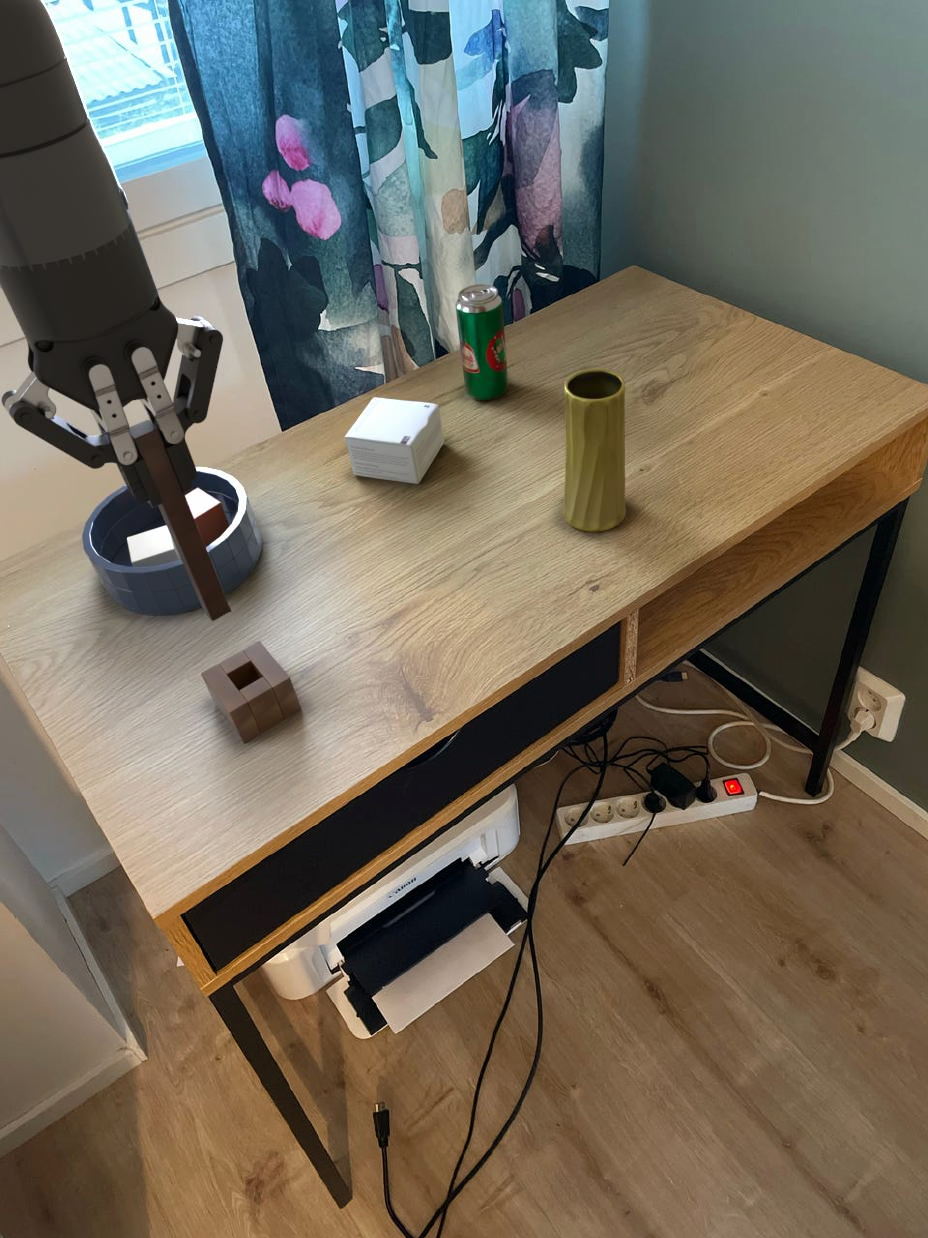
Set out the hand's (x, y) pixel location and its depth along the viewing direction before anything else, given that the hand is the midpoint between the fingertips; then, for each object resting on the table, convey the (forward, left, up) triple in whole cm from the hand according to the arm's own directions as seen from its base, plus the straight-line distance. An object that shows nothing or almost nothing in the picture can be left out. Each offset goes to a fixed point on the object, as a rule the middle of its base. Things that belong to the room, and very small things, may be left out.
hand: (167, 492), depth 59 cm
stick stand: (0, 0, -22) cm, 22 cm away
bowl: (+3, +22, -22) cm, 31 cm away
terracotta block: (+6, +23, -22) cm, 32 cm away
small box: (+28, +20, -22) cm, 41 cm away
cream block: (0, +20, -22) cm, 30 cm away
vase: (+37, -1, -22) cm, 43 cm away
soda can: (+43, +24, -22) cm, 54 cm away
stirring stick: (0, 0, -11) cm, 11 cm away
